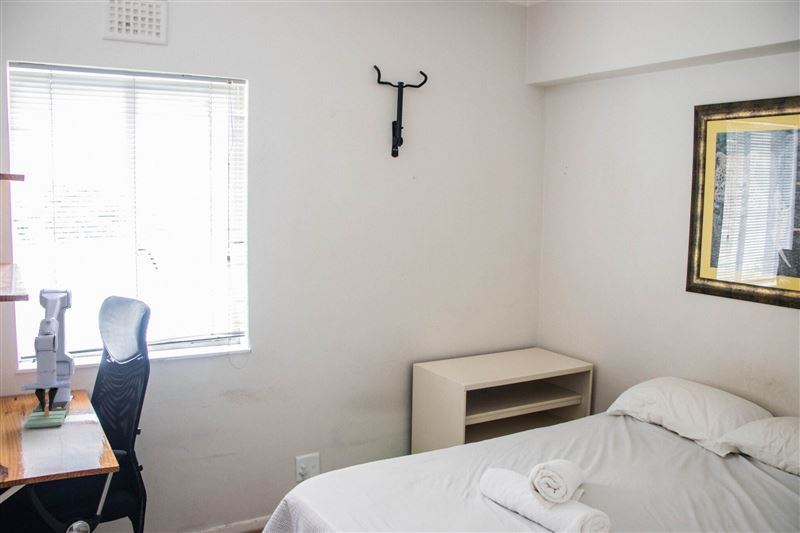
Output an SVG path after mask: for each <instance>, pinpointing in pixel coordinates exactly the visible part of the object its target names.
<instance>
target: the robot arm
mask: <svg viewBox="0 0 800 533" xmlns="http://www.w3.org/2000/svg"><path fill="white" fill-rule="evenodd" d="M38 296H39V300H38V301H39V304H40V306H41V307H42V308H43V309H45V310H44V318H42V319H41V321H40V322H39V328H38V333H37V336H35V337H34V341H33V342H34V344H33V345H34V352H35V358H36V382H31V383H22V385H21V392H26V391H34V394H35V396H36V397H37V399H38V401H39V402H38V403H40V404H41V407H42V412H44V411H45V406H46V404H45V402H49V411H51V410H52V405H53V402H58V401H69V403H71V402H72V399H73V398H74V395H72V394H71V389H72V381H71V377H73V376H74V374H75V369H76V368H75V358H74V355H73V354H71V353H70V352H68V351H67V350H66V311H67V310H68V309H71V308H72V291H71V289H70V288H41V289H40V291H39V295H38ZM46 390H48V392H47V394H48V399H47V401H46Z"/></svg>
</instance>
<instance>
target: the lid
mask: <svg viewBox="0 0 800 533" xmlns="http://www.w3.org/2000/svg"><path fill="white" fill-rule="evenodd" d="M65 414H66V410H65V411H49V404H46V406H45V412H36V413H33V412H31V413H30V415H29V417H28V419H27V421H26V423H25V428H30V429H37V428H53V427H59V426H62V425H63V422H64V419H65V418H66V417H65Z"/></svg>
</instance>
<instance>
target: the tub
mask: <svg viewBox="0 0 800 533" xmlns="http://www.w3.org/2000/svg"><path fill="white" fill-rule="evenodd" d="M70 403H71V402H70ZM70 403H69V401H58V402H53V405H52V410H51V411H65V410H66V414H65V417H64V418H66V417H67V415H68V414H69V411H70V407H71V406H70ZM45 404H49V402H47V401H45ZM36 412H42V407H41V404H40V402H37V404H36V405H35V407H34V408H33V409H32V413H36ZM44 412H45V411H44Z"/></svg>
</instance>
